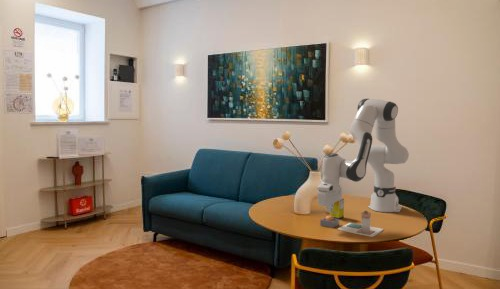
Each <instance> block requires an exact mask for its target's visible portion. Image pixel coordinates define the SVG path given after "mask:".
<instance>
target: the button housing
mask: <svg viewBox="0 0 500 289" xmlns="http://www.w3.org/2000/svg"><path fill="white" fill-rule="evenodd" d="M319 222H320V223H319V225H320V226H322V227H328V228H331V229H333V228H335V227H337V226H339V225H340V219H335V218H334V221H328V220H326V217H323V218H321V219H320V221H319Z"/></svg>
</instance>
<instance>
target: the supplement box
mask: <svg viewBox="0 0 500 289" xmlns="http://www.w3.org/2000/svg"><path fill="white" fill-rule="evenodd" d="M344 209H345V198H344V197H342V198H341V200H340V201H337V202H334V206H333V211H331V212H329V216H333V217H334V218H335V219H339V220H340V219H343V218H344V214H345V213H344V212H345V210H344Z"/></svg>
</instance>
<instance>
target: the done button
mask: <svg viewBox="0 0 500 289" xmlns="http://www.w3.org/2000/svg"><path fill="white" fill-rule="evenodd" d="M325 218H326V220H328V221H334V217H333V216H330V215H326V216H325Z"/></svg>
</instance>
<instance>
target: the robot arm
mask: <svg viewBox="0 0 500 289" xmlns="http://www.w3.org/2000/svg"><path fill="white" fill-rule="evenodd" d="M356 109H357V111H356V113H355V115H354V117H353V120H352V121H351V124H350V127H349V132H350V135H351V136H352V137H353V138H354V140H357V142H358V147H357V151H356V155H355V159H354V160H350V159H346V158H344V157H341V156H340V155H339V154H338V153H327V154H326V155H324V157H323V158H322V164H321V166H322V167H321V168H322V169H321V171H322V177H321V181H320V183H319V184H318V185H317V187H316V188H317V204H318V206H320V207H326V209H327V210H326V211H327V213H330V212H331V211H333V206H334V202H337V201H340V200H341V198H343V195H342V194H343V193H342V187H341V185H340V178H343V179H347V180H349V181H352V182H354V183H355V182H359V181H360V182H361V181H362V180H363V179H364V177H365V176H366V173H367V166H368V165H367V164H369V165H370V167H371V168H372V171H373V175H374V186H373V193H371V197H370V203H369V205H368V206H367V207H368V208H369V209H371V210H372V211H376V212H379V213H380V212H381V213H400V211H401V210H402V208H403V205H401V204H399V197H398V195H397V194H396V188H397V186H395V173H394V172H393V171H391V170H390V169H388V168H387V167H385V165H386V164H387V165H400V164H401V165H402V164H405V163H406V162H407V161H408V159H409V153H410V152H409V151H408V149H407V148H406V147H405V146H403V145H402V144H401V143H400V141H399V140H398V139H397V135H396V134H397V132H396V118H397V116H398V112H399V107H398V105H397V104H396V102H393V101H387V100H384V99H374V98H362V99H361V100H360V101H359V102H358V105H357V108H356ZM373 129H374V134H375V138H376V140H377V141H379V142H380V143H382V144H373V136H372V132H373Z"/></svg>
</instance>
